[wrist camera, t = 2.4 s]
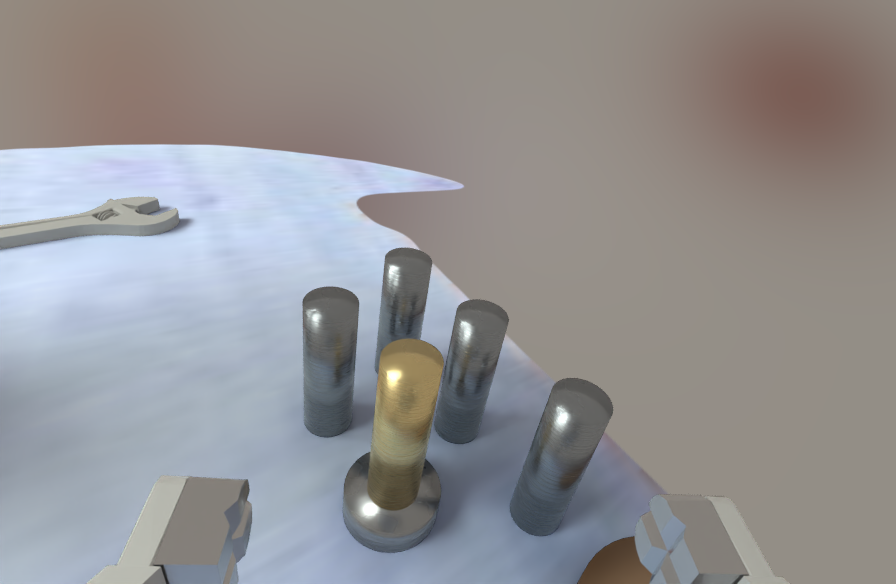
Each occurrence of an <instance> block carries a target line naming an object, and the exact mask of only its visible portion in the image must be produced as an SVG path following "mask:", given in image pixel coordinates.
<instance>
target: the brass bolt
mask: <svg viewBox="0 0 896 584" xmlns="http://www.w3.org/2000/svg"><path fill="white" fill-rule="evenodd" d="M443 365H444V361H443V357H442V355H441V353H440V352H439V351H438V350H437V349H436V348H435V347H434V346H433V345H431V344H429V343H427V342H425V341H422V340H417V339H400V340H396V341H393V342H391V343H390V344H388V345H387V346H386V347H385V348H384V349H383V350H382V352H381V355H380V364H379V373H378V383H377V393H376V403H375V413H374V423H373V433H372V442H371V452H369V453H366V454H365V455H363V456H362V457H360V458H359V459H358V460H357V461H356V462H355V463H354V464H353V465H352V467H351V468H350V470H349V471H348V473H347V476H346V479H345V483H344V496H343V517H344V521H345V524H346V527H347V529H348V530H349V532H350V533H351V535H352V536H353V537H354V538H355V539H356V540H357V541H358V542H359V543H361V544H362V545H364V546H366V547H367V548H369V549H372V550H375V551H379V552H386V553H394V552H401V551H404V550H408V549H410V548H412V547H414V546H416V545H417V544H419V543H420V542H421V541H422V540H424V538H425V537H426V536H427V535H428V534H429V532H430V531H431V529H432V527H433V525H434V522H435V518H436V514H437V510H438V506H439V502H440V497H441V485H440V480H439V477H438V475H437V473H436V471H435V469H434V468H433V466H432V465H431V464H430V463H429V462H428V461H427V460H426V459H425V457H426V452H427V446H428V441H429V436H430V431H431V426H432V421H433V416H434V411H435V406H436V401H437V396H438V390H439V385H440V380H441V375H442V370H443Z"/></svg>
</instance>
